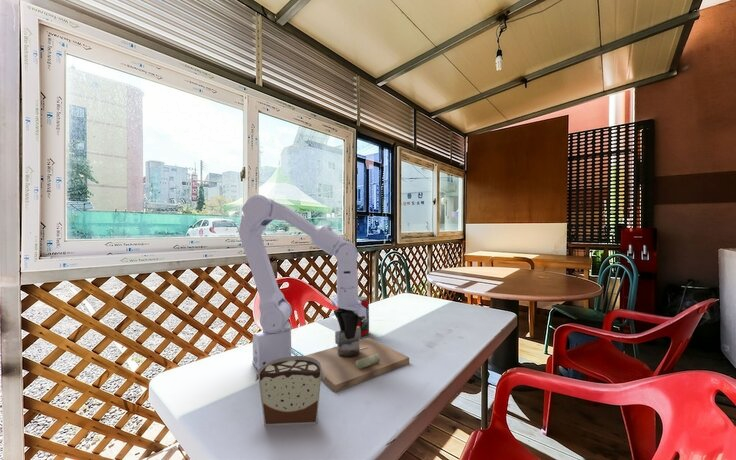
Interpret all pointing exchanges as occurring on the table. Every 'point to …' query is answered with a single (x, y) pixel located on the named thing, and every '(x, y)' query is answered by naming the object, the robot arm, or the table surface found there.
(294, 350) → the adjustable wrench
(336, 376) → the base
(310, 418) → the food container
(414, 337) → the table surface
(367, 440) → the table surface
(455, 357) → the table surface
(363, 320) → the beverage can
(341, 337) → the wing knob
